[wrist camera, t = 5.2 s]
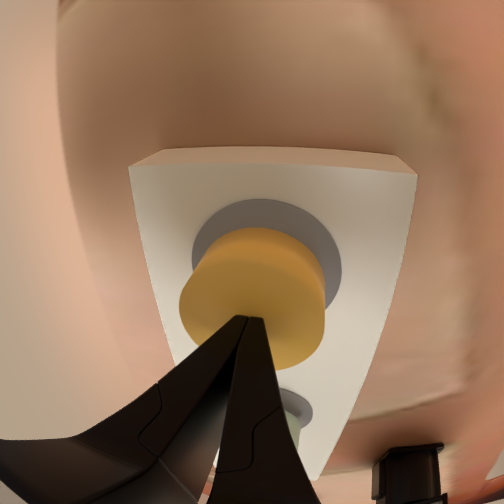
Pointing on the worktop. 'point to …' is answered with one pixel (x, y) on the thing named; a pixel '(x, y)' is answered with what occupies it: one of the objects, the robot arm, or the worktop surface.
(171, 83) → the worktop surface
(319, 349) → the button panel
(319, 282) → the button amber
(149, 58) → the worktop surface
